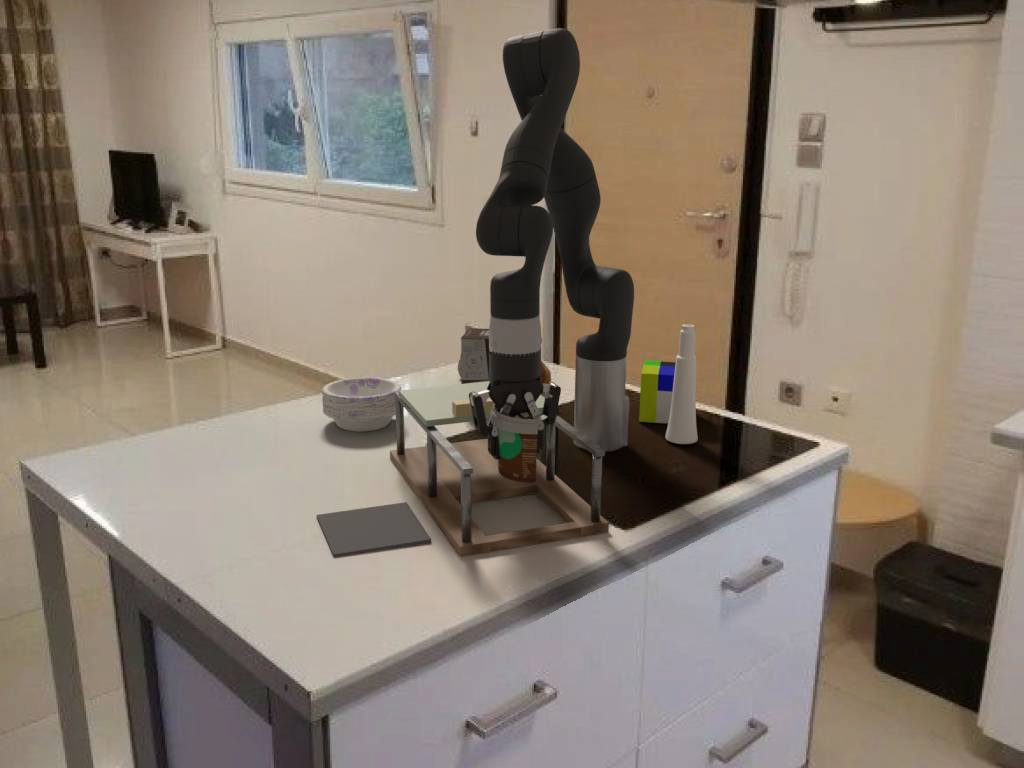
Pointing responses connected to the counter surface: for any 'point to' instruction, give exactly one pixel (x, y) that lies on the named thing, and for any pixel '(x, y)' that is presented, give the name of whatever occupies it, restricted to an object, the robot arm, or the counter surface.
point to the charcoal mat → (372, 529)
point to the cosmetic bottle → (684, 392)
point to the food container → (517, 445)
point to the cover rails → (467, 469)
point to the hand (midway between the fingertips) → (515, 454)
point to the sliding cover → (448, 403)
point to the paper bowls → (360, 403)
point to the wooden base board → (492, 498)
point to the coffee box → (475, 356)
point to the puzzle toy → (656, 391)
